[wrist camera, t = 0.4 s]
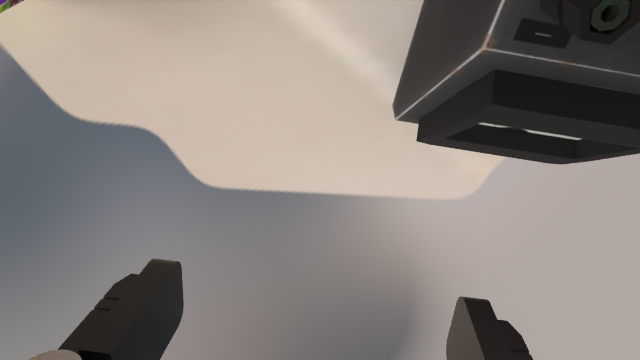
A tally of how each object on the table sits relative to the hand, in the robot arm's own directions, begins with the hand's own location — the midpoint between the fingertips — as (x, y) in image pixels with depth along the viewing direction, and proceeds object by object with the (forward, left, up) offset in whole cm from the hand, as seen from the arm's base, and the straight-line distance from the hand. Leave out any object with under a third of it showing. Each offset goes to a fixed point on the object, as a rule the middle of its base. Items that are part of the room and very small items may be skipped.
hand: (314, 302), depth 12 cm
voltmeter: (+11, +11, -30) cm, 33 cm away
